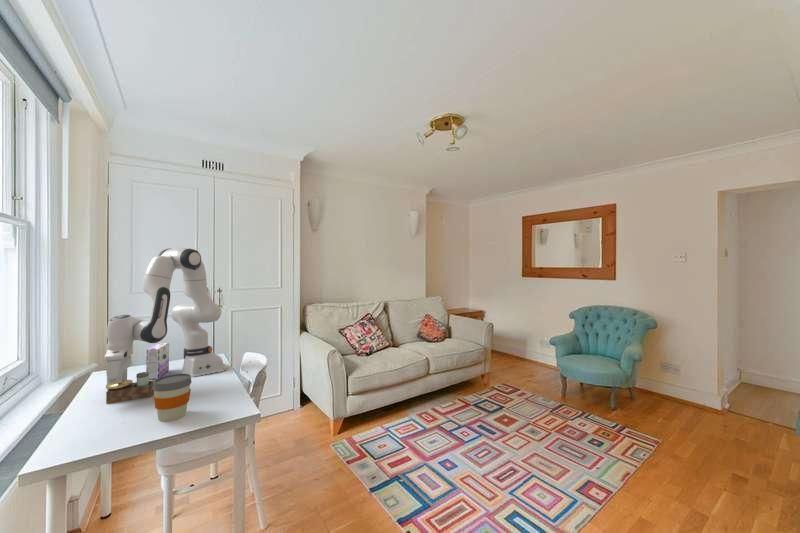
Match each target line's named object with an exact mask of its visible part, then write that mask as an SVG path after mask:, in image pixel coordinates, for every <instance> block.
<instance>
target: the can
mask: <svg viewBox="0 0 800 533" xmlns="http://www.w3.org/2000/svg"><path fill="white" fill-rule="evenodd" d="M123 380H128V368H127V369H126V370H125V373H124V379H123ZM115 381H116V378H111V379H108V378H107V377H106V385H107V384H109V383H111V382H115Z"/></svg>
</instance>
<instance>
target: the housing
mask: <svg viewBox="0 0 800 533" xmlns="http://www.w3.org/2000/svg"><path fill="white" fill-rule="evenodd" d="M154 380H155V379H153V380H149V385H147V386H140V387H137V381H135V382H133V383H132V384H131V385H129V386H127V387H124V388H120V389H107V391H106V392H105V393H106V396H105V404H106V405H107V404H115V403H119V402H125V401H133V400H139V399H146V398H151V397H152V396H154V390H153V383H154Z"/></svg>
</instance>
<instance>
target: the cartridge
mask: <svg viewBox="0 0 800 533" xmlns="http://www.w3.org/2000/svg"><path fill="white" fill-rule="evenodd" d="M135 377H136V382H137V387H140V386H147V385H149V381H150V380H149V372H146V371H142V372H139V373H137V374H136V376H135Z"/></svg>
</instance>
